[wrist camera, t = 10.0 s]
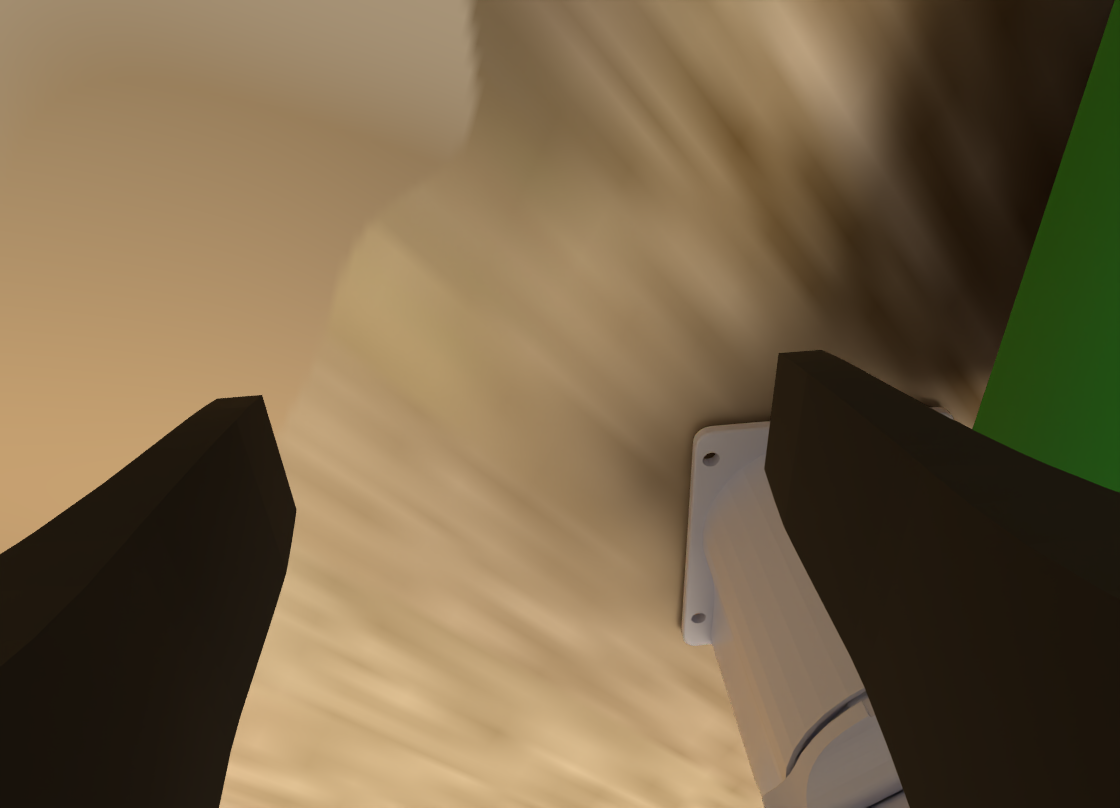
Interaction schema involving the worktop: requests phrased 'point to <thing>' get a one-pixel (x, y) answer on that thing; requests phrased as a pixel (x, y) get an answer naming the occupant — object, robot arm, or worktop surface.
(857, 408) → the robot arm
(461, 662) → the worktop surface
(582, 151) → the worktop surface
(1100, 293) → the green vase with flowers
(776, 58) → the worktop surface
